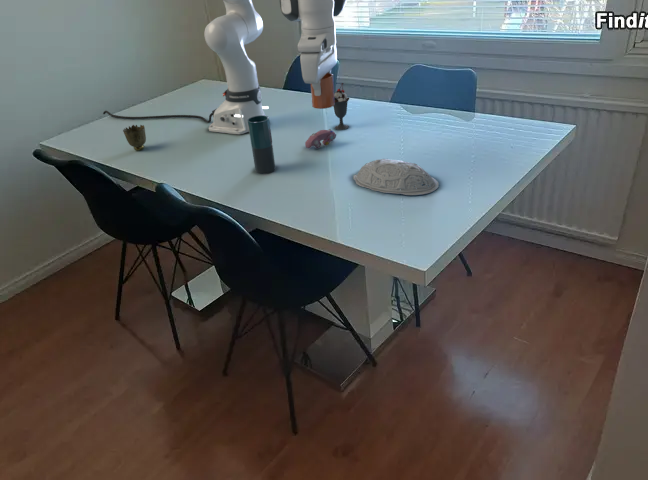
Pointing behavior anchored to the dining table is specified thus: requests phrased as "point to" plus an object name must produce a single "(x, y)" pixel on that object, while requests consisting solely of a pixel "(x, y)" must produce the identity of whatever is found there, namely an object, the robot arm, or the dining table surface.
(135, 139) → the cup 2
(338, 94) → the sundae
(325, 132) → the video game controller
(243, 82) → the robot arm
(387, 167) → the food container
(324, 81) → the cup
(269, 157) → the cup stack
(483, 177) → the dining table surface
